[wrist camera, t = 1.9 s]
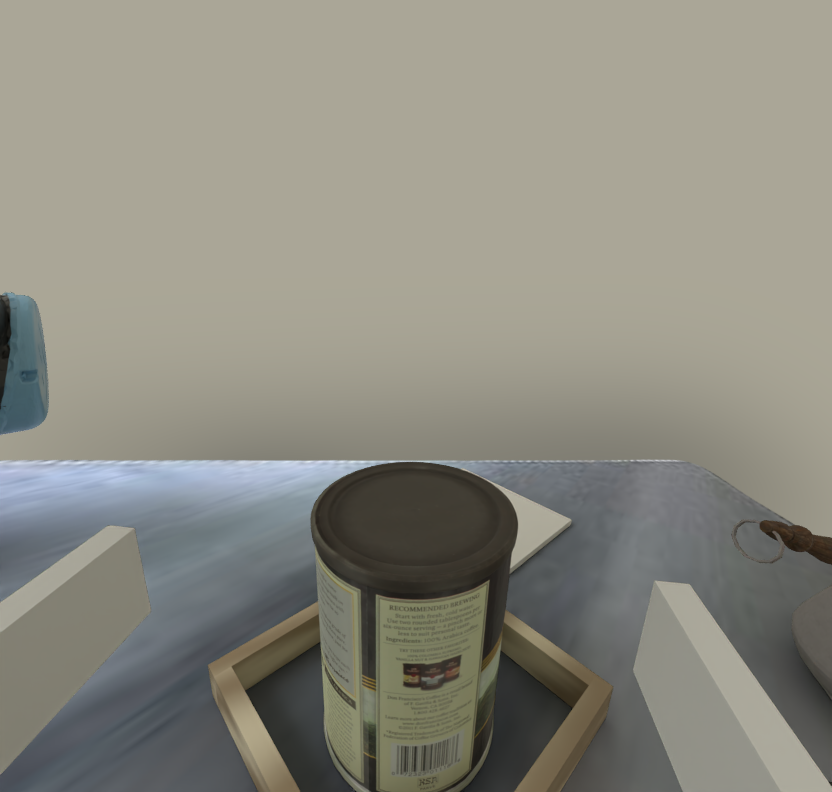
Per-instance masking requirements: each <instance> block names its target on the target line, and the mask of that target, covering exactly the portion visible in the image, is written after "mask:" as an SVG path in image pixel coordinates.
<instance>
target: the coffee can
mask: <svg viewBox="0 0 832 792" xmlns="http://www.w3.org/2000/svg"><path fill="white" fill-rule="evenodd" d="M311 532H312V538H313V541H314V544H315V555H316V572H317V589H318V606H319V623H320V640H321V657H322V675H323V694H324V733H325V739H326V743H327V747H328V750H329V753H330V755H331V758H332V760H333V763H334V766H335V767H336V769H337V770H338V771H339V772H340V773H341V775H342V776H343V778H344V779H345V780H346V781H347V782H348V784H349V785H350V786H351V787H352V788H353V789H354V790H355V791H357V792H460V791H461V790H462V789H463V788H465V787H466V786H467V785H469V783H470V782H471V781H472V780H473V778H474V777H475V775H476V774H477V773H478V771H479V770H480V768H481V767H482V765H483V763H484V761H485V759H486V756H487V754H488V751H489V748H490V744H491V740H492V734H493V720H494V717H493V713H494V704H495V695H496V686H497V678H498V669H499V660H500V650H501V641H502V632H503V624H504V617H505V609H506V600H507V592H508V583H509V573H510V565H511V556H512V551H513V549H514V546H515V543H516V539H517V533H518V519H517V514H516V511H515V509H514V507H513V505H512V503H511V501H510V500H509V499H508V497H507V496H506V495H505V494H504V493H503V492H502V491H501V490H499V489H498V488H497V487H496V486H494V485H493V484H492V483H490V482H488V481H487V480H485V479H483V478H481V477H479V476H477V475H475V474H472V473H470V472H467V471H465V470H461V469H458V468H455V467H450V466H446V465H440V464H433V463H424V462H396V463H388V464H381V465H376V466H371V467H368V468H364V469H361V470H358V471H355V472H353V473H351V474H348V475H346V476H344V477H342V478H340V479H339V480H337V481H335V482H334V483H332V484H331V485H330V486H329V487H328V488H326V489H325V490H324V491H323V492H322V494H321V495H320V496H319V497H318V499H317V500H316V502H315V504H314V506H313V509H312V513H311Z"/></svg>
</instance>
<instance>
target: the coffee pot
mask: <svg viewBox="0 0 832 792" xmlns="http://www.w3.org/2000/svg"><path fill="white" fill-rule="evenodd" d="M745 522H754V523H759V524H760V529H761V530H762V531H763V532H765V533H766V534H767V535H768V536H770V537H771V538H773V539H775V540H777V541H778V542H779V544H780V548H779V552H778V555H777V556H775V557H774V558H772V559H770V560H757V559H754V558H752V557H750V556H747V555H746V553H745V552H744V551H743V550H742V549H741V548H740V546H739V544H738V542H737V539H736V533H737V529H738V527H740V526H741V525H742V524H744V523H745ZM731 536H732V539H733V541H734V544H735V546H736V548H737V549H738V550H739V551H740V552H741V553H742V555H743V556H745V557H747V558H749V559H752V560H754V561H756V562H759V563H774V562H775V561H777V560H779V559H780V558H782V555H783V552H784V548H785V545H786V546H787V547H788V548H789V549H791V550H793V551H796V552H804V551H806V552H808V553H809V554H811V555H813V556H814V557H816V558H817V559H819V560H820V561H822V562H825V563H828V564H831V565H832V538H830V537H823V536H818V535H812V533H811V532H810V531H809V530H808V529H807V528H804V527H802V526H798V525H792V526H788V525H787V524H784V523H782V522H777V521H767V520H764V521H762V522H759V521H756V520H741V521H740V522H738V523H737V524H736V525H734V527H733V531H732V534H731ZM783 542H784V543H783ZM784 544H785V545H784ZM791 630H792V634H793V638H794V642H795V644H796V647H797V649H798V652H799V654H800V656H801V658H802V660H803V661H804V663H805V664H806V665H807V667H808V668H809V670H810V671H811V672H812V674H813V675H814V676H815V678H816V679H817V680H818V682H819V683H820V685H821V686H822V687H823V688H824V690H825V691H826V693H827V694H828V695H829V697H830V698H831V699H832V585H831V586H829V587H827V588H826V589H824V590H822V591H821V592H819V593H818V594H816V595H814V596H813V597H811V598H809V599H808V600H806V601H805V602H803V603H802V604H801V605H800V606H799V607H798V608H797V609H796V610H795V611H794V613H793V614H792V629H791Z"/></svg>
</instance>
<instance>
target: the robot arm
mask: <svg viewBox="0 0 832 792" xmlns="http://www.w3.org/2000/svg"><path fill="white" fill-rule="evenodd" d="M48 399H49V393H48V374H47V362H46V352H45V344H44V336H43V330H42V324H41V318H40V313H39V310H38V307H37V304H36V302H35V301H34V300H33V299H32V298H30V297H29V296H25V295H15V294H14V293H3V294H2V295H0V435H1V434H7V433H13V432H18V431H24V430H29V429H32V428H35V427H37V426H39V425H40V424H41V423H42V422H43V421H44V420H45V418H46V416H47V413H48V405H49V404H48V403H49V400H48ZM150 612H151V607H150V602H149V597H148V592H147V587H146V582H145V577H144V572H143V567H142V562H141V557H140V552H139V547H138V542H137V537H136V532H135V528H130V527H120V526H110V525H108V526H107V527H105V528H104V529H102V530H101V531H100V532H98V533H97V534H95V535H94V536H93V537H91V538H90V539H88V540H87V541H86V542H84V543H83V544H81V545H80V546H79V547H77V548H76V549H74V550H73V551H72V552H70V553H69V554H67V555H66V556H65V557H63V558H62V559H60V560H59V561H58V562H56V563H55V564H53V565H52V566H51V567H49V568H48V569H46V570H45V571H44V572H42V573H41V574H39V575H38V576H37V577H35V578H34V579H32V580H31V581H30V582H28V583H27V584H25V585H24V586H23V587H21V588H20V589H18V590H17V591H16V592H14V593H13V594H11V595H10V596H9V597H7V598H6V599H4V600H3V601H2V602H0V775H1V774H2V773H3V771H4V770H5V769H6V768H7V767H8V766H9V765H10V764H11V763H12V762H13V761H14V760H15V758H16V757H17V756H18V755H19V754H20V753H21V752H22V751H23V750H24V749H25V748H26V746H27V745H28V744H29V743H30V742H31V741H32V740H33V739H34V738H35V737H36V736H37V735H38V733H39V732H40V731H41V730H42V729H43V728H44V727H45V726H46V725H47V724H48V723H49V722H50V720H51V719H52V718H53V717H54V716H55V715H56V714H57V713H58V712H59V711H60V710H61V709H62V707H63V706H64V705H65V704H66V703H67V702H68V701H69V700H70V699H71V698H72V697H73V696H74V694H75V693H76V692H77V691H78V690H79V689H80V688H81V687H82V686H83V685H84V684H85V683H86V681H87V680H88V679H89V678H90V677H91V676H92V675H93V674H94V673H95V672H96V671H97V670H98V668H99V667H100V666H101V665H102V664H103V663H104V662H105V661H106V660H107V659H108V658H109V657H110V655H111V654H112V653H113V652H114V651H115V650H116V649H117V648H118V647H119V646H120V645H121V644H122V642H123V641H124V640H125V639H126V638H127V637H128V636H129V635H130V634H131V633H132V632H133V631H134V629H135V628H136V627H137V626H138V625H139V624H140V623H141V622H142V621H143V620H144V619H145V618H146V616H147V615H148V614H149V613H150ZM633 672H634V674H635V677H636V679H637V682H638V684H639V686H640V689H641V691H642V694H643V696H644V699H645V701H646V703H647V706H648V708H649V711H650V713H651V716H652V718H653V720H654V723H655V725H656V728H657V730H658V733H659V735H660V737H661V740H662V742H663V745H664V747H665V750H666V752H667V754H668V757H669V759H670V762H671V764H672V767H673V769H674V771H675V774H676V776H677V779H678V781H679V784H680V786H681V788H682V791H683V792H832V782H828V781H827V779H826V778H825V776H824V775H823V774H822V772H821V771H820V769H819V768H818V767H817V765H816V764H815V762H814V761H813V759H812V758H811V757H810V755H809V754H808V752H807V751H806V749H805V748H804V747H803V745H802V744H801V742H800V741H799V739H798V738H797V737H796V735H795V734H794V732H793V731H792V730H791V728H790V727H789V725H788V724H787V722H786V721H785V720H784V718H783V717H782V715H781V714H780V712H779V711H778V710H777V708H776V707H775V705H774V704H773V702H772V701H771V700H770V698H769V697H768V695H767V694H766V693H765V691H764V690H763V688H762V687H761V685H760V684H759V683H758V681H757V680H756V678H755V677H754V675H753V674H752V673H751V671H750V670H749V668H748V667H747V665H746V664H745V663H744V661H743V660H742V658H741V657H740V656H739V654H738V653H737V651H736V650H735V648H734V647H733V646H732V644H731V643H730V641H729V640H728V638H727V637H726V636H725V634H724V633H723V631H722V630H721V628H720V627H719V626H718V624H717V623H716V621H715V620H714V619H713V617H712V616H711V614H710V613H709V611H708V610H707V609H706V607H705V606H704V604H703V603H702V601H701V600H700V599H699V597H698V596H697V594H696V593H695V591H694V590H693V589H692V587H691V586H690V584H682V583H673V582H663V581H654V585H653V589H652V593H651V597H650V602H649V606H648V610H647V614H646V618H645V622H644V627H643V631H642V635H641V639H640V643H639V648H638V652H637V656H636V660H635V664H634V669H633Z"/></svg>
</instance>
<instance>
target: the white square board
mask: <svg viewBox="0 0 832 792" xmlns="http://www.w3.org/2000/svg"><path fill="white" fill-rule="evenodd" d="M461 470H465V471H467V472H470V471H468V470H466V469H464V468H462V469H461ZM470 473H472V472H470ZM472 474H474V473H472ZM475 475H476V474H475ZM477 476H478V475H477ZM479 477H480V476H479ZM481 478H482V477H481ZM483 479H485V478H483ZM485 480H487V479H485ZM487 481H488V482H490V483H492V484H493V485H494V486H496V487H497V488H498V489H499V490H501V491H502V492H503V493H504V494H505V495H506V496H507V497H508V499H509V500H510V501H511V503H512V505H513V507H514V509H515V511H516V514H517V519H518V533H517V539H516V543H515V546H514V549H513V551H512V556H511V565H510V573H512V572H513V571H514V570H515V569H517V568H518V567H519V566H520V565H522V564H523V563H524V562H525V561H527V560H528V559H529V558H530V557H532V556H533V555H534V554H535V553H536V552H538V551H539V550H540V549H541V548H543V547H544V546H545V545H546V544H548V543H549V542H550V541H551V540H553V539H554V538H555V537H556V536H557V535H559V534H560V533H561V532H562V531H564V530H565V529H566V528H567V527H569V526H570V525H571V519H569V518H567V517H565V516H562V515H560V514H558V513H556V512H554V511H552V510H550V509H548V508H546V507H543V506H541V505H539V504H537V503H535V502H533V501H531V500H529V499H527V498H525V497H522V496H520V495H518V494H516V493H514V492H512V491H510V490H508V489H506V488H504V487H501V486H499V485H497V484H495V483H493V482H491V481H489V480H487ZM510 573H509V574H510Z"/></svg>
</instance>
